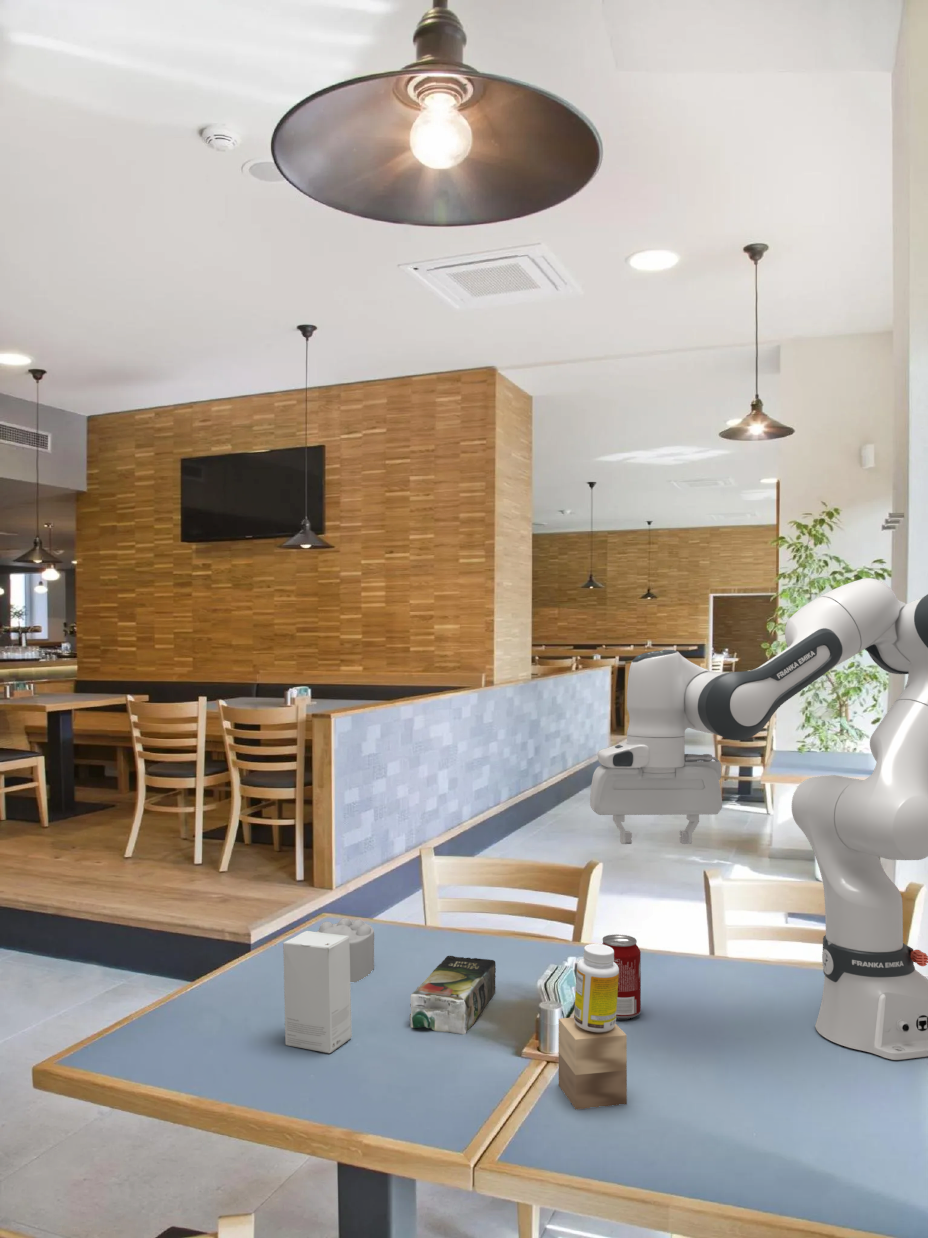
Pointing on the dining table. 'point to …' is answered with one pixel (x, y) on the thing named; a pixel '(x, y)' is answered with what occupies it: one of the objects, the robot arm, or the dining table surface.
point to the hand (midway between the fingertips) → (655, 843)
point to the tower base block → (593, 1087)
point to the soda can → (626, 974)
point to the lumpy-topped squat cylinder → (355, 945)
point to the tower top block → (592, 1048)
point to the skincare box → (317, 991)
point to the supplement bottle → (596, 989)
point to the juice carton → (453, 995)
